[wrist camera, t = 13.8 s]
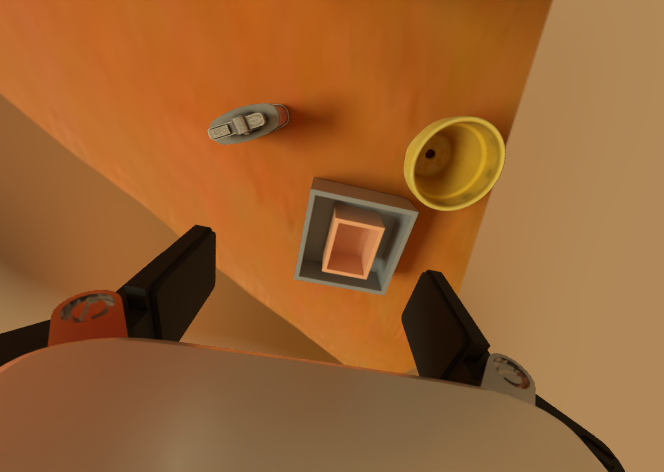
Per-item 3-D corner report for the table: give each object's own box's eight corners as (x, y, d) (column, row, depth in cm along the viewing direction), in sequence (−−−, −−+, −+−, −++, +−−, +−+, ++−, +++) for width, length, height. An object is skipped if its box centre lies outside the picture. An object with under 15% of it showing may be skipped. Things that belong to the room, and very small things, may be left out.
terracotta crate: (335, 202, 38) (335, 217, 33) (377, 211, 39) (384, 228, 34) (323, 250, 42) (322, 271, 37) (362, 258, 43) (366, 279, 38)
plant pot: (399, 110, 33) (423, 111, 25) (474, 117, 34) (523, 120, 25) (385, 185, 38) (401, 208, 29) (451, 191, 38) (486, 215, 30)
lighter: (284, 98, 33) (266, 95, 24) (293, 125, 34) (279, 131, 25) (229, 117, 34) (192, 120, 25) (240, 142, 35) (208, 153, 26)
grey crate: (314, 177, 37) (310, 188, 32) (407, 198, 39) (419, 212, 34) (298, 258, 44) (293, 279, 39) (378, 273, 46) (384, 295, 40)
